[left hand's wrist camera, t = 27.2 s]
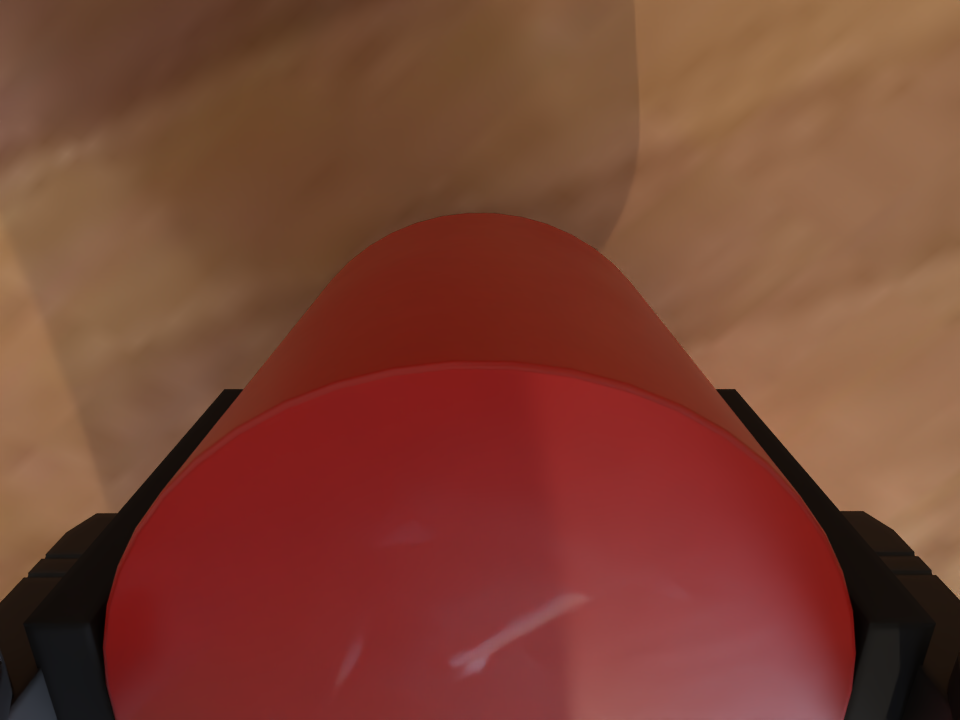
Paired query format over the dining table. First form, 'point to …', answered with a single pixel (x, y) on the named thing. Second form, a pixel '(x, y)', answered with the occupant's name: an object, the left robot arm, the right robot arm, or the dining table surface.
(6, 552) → the dining table surface
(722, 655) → the can
